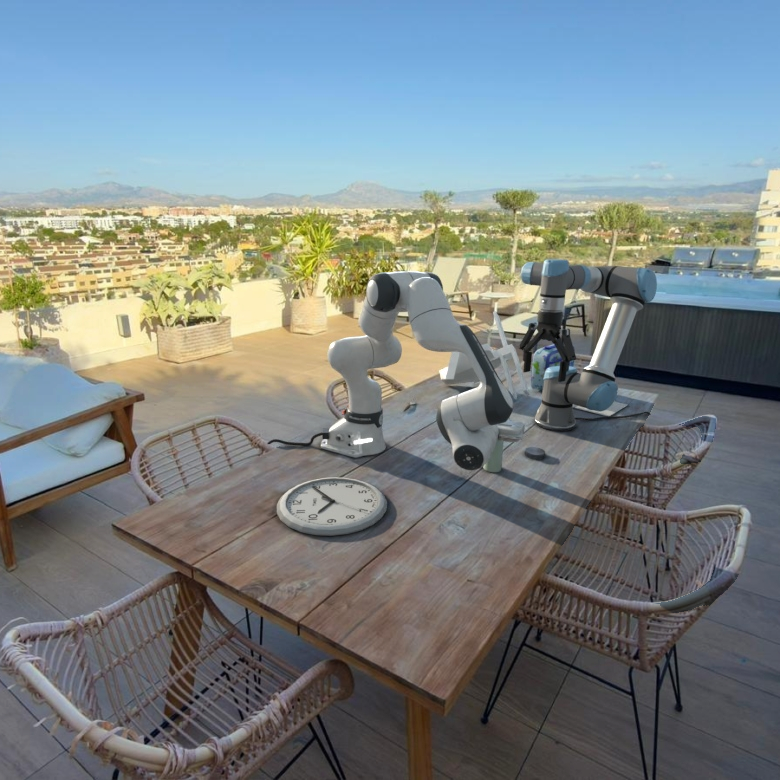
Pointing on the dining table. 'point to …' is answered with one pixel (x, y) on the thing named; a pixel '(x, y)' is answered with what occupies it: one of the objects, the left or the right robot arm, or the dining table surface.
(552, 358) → the lunch box
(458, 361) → the white plastic object
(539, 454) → the lid
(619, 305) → the right robot arm
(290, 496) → the wall clock
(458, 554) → the dining table surface
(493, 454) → the jar
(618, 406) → the invitation card
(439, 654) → the dining table surface
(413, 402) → the fork
